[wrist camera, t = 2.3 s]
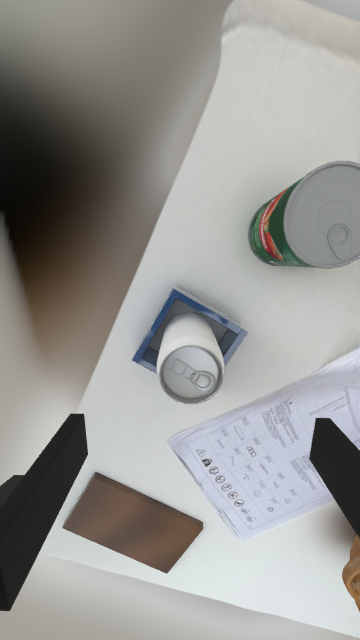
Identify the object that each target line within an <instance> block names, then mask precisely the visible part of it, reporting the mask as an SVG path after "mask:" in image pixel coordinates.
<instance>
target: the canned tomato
mask: <svg viewBox="0 0 360 640" xmlns="http://www.w3.org/2000/svg"><path fill="white" fill-rule="evenodd" d="M248 238H249V244H250V247H251V249H252V251H253V253H254V254H255V255H256V256H257V258H259V259H260V260H261V261H263V262H265V263H267V264H270V265H275V266H298V267H318V268H336V267H341V266H344V265H347V264H350V263H352V262H353V261H355V260H357V259H358V258H360V164H359V163H355V162H351V161H336V162H331V163H327V164H325V165H322V166H320V167H317V168H316V169H314V170H313V171H311V172H310V173H308V174H307V175H306V176H305V177H303V178H302V179H300V180H299V181H298V182H296V183H294V184H293V185H292V186H290V187H289V188H287V189H286V190H284V191H283V192H281V193H280V194H279V195H277V196H276V197H274V198H273V199H271V200H270V201H268V202H267V203H265V204H263V205H262V206H261V207H260V208H259V209H258V210H257V212H256V213H255V214H254V216H253V218H252V220H251V222H250V226H249V232H248Z"/></svg>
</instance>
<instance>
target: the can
mask: <svg viewBox="0 0 360 640" xmlns="http://www.w3.org/2000/svg"><path fill="white" fill-rule="evenodd" d="M224 369H225V365H224V359H223V356H222V353H221V350H220V348H219V345H218V343H217V341H216V338H215V336H214V334H213V331H212V329H211V327H210V325H209V323H208V322H207V321H206V320H205V319H204V318H203V317H201V316H200V315H197V314H194V313H183V314H179V315H177V316H175V317H174V318H173V319H171V321H170V322H169V323H168V325H167V326H166V329H165V332H164V335H163V339H162V343H161V347H160V351H159V355H158V360H157V374H158V377H159V380H160V383H161V386H162V388H163V389H164V391H165V392H166V393H167V395H168V396H170V397H171V398H172V399H174V400H176V401H178V402H181V403H184V404H198V403H202V402H204V401H206V400H208V399H210V398H211V397H213V396H214V395H215V394H216V393H217V391H218V390H219V388H220V386H221V384H222V380H223V375H224Z"/></svg>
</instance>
